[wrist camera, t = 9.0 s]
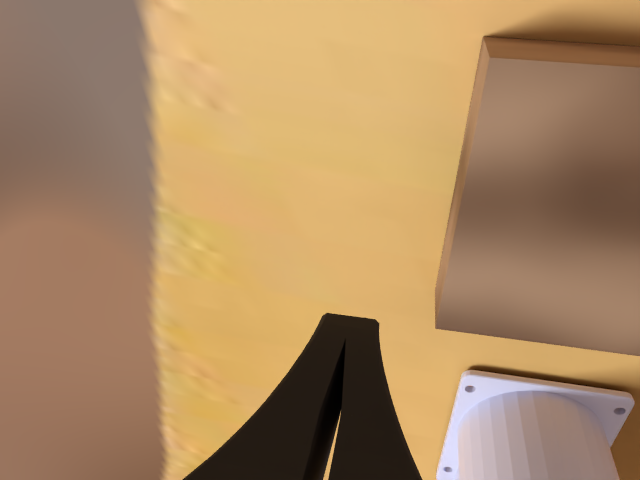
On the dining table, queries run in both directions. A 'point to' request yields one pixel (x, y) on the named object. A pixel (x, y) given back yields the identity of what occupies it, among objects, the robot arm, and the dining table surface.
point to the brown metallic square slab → (548, 199)
